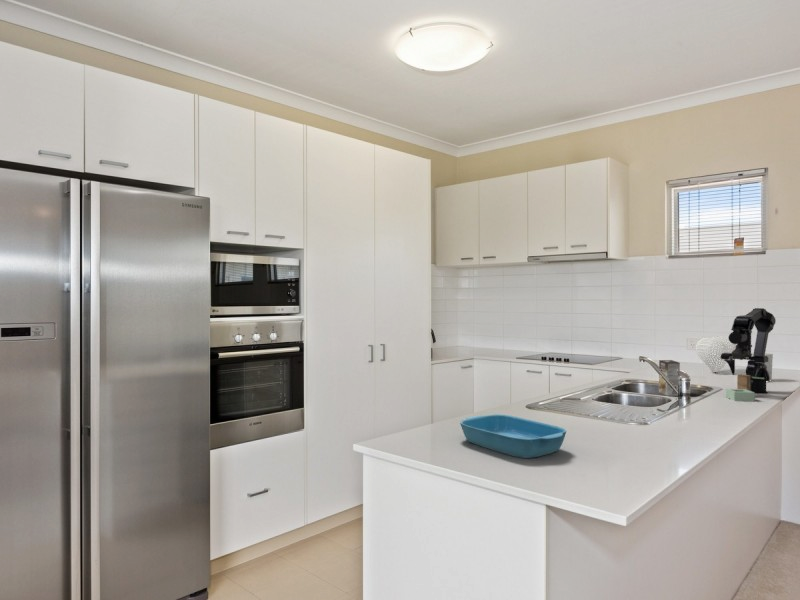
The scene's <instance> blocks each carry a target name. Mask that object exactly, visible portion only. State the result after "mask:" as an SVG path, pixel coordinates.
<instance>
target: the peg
mask: <svg viewBox="0 0 800 600" xmlns="http://www.w3.org/2000/svg"><path fill="white" fill-rule="evenodd" d="M736 389H746V390H749V391H750V375H746V374H741V373H740V374H738V375H737V388H736Z"/></svg>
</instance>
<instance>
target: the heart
mask: <svg viewBox="0 0 800 600" xmlns="http://www.w3.org/2000/svg"><path fill="white" fill-rule="evenodd" d="M736 345H737V344H733V343H731V342H730V341H729V336H726V335H720V336H714V337H712V336H710V337H709V336H708V337H707V336H706V337H703V338H701V339H699V340H698V341H697V342H696V345H695V352H696V354H697V356H698V357H699V359H701V360H702V362H703V363H704V364H705V365H706V367H707V368H709V370H710V371H711V372H712V373H713V372H718V373H720V372H721V371H722V369H723V368H724V367H725V365H727V364H728V363H727V362H726V361H724V359H721V354H722V353H732V352H733V351H734V350H735V349H736Z"/></svg>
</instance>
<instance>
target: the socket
mask: <svg viewBox="0 0 800 600" xmlns="http://www.w3.org/2000/svg"><path fill="white" fill-rule="evenodd" d="M726 397H727V398H726ZM755 397H756V393H755V392H752V391H749V390H746V389H737V388H726V389H725V398H726V399H728V398H730V399H729V400H731V399H732V400H731V401H733V400H735V401H734V402H755V399H756V398H755Z"/></svg>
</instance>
